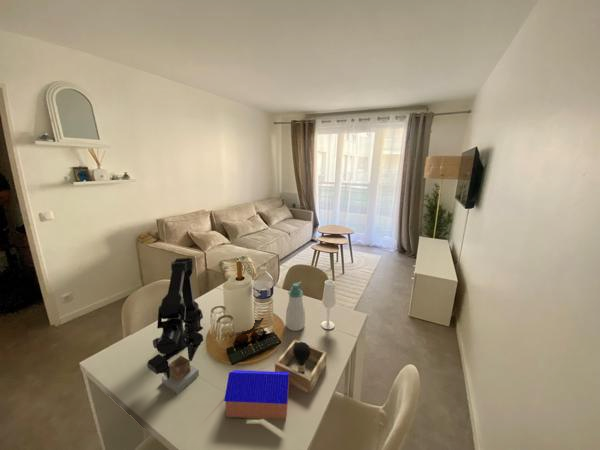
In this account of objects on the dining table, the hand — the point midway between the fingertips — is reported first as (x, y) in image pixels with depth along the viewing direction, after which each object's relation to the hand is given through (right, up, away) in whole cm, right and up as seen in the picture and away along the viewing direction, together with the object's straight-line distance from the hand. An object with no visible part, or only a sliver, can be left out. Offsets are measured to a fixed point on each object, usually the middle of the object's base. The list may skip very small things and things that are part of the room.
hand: (179, 369), depth 90 cm
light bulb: (+46, -4, +6) cm, 46 cm away
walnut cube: (0, -2, 0) cm, 2 cm away
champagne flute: (+60, +3, +33) cm, 68 cm away
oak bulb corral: (+46, -4, +5) cm, 46 cm away
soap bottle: (+43, +3, +33) cm, 54 cm away
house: (+31, -7, -7) cm, 33 cm away
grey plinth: (0, -5, +1) cm, 5 cm away
